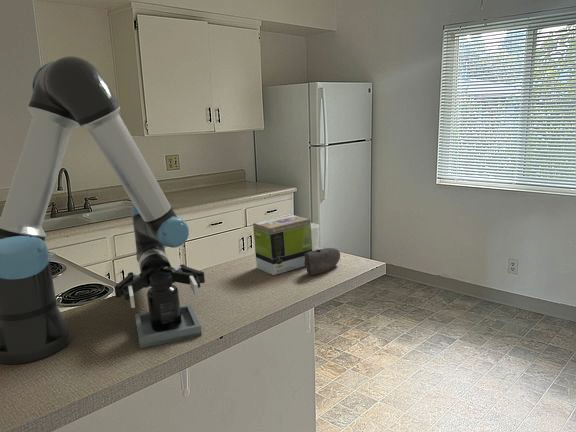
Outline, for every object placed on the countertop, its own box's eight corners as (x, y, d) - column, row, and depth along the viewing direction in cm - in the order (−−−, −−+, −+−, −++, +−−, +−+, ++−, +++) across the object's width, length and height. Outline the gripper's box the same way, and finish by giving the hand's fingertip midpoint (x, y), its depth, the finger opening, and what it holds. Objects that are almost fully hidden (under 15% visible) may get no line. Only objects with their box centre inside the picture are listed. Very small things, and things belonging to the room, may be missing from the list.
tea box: (294, 257, 155) (292, 213, 151) (313, 265, 146) (312, 218, 143) (255, 267, 146) (252, 221, 143) (272, 276, 138) (270, 227, 135)
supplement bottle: (185, 319, 110) (180, 270, 108) (176, 333, 104) (170, 281, 101) (157, 319, 111) (151, 271, 108) (146, 333, 104) (139, 282, 102)
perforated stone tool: (334, 262, 148) (333, 241, 146) (346, 266, 144) (346, 244, 143) (298, 275, 138) (298, 252, 137) (311, 279, 135) (310, 256, 133)
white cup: (307, 260, 151) (305, 230, 149) (291, 255, 157) (290, 226, 155) (324, 254, 156) (324, 225, 154) (308, 249, 162) (307, 221, 160)
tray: (140, 348, 99) (139, 338, 99) (136, 323, 111) (135, 314, 111) (201, 335, 104) (200, 325, 103) (191, 313, 116) (190, 304, 115)
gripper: (204, 273, 127) (222, 301, 108) (105, 289, 119) (106, 323, 99) (202, 246, 125) (220, 270, 106) (101, 261, 117) (101, 290, 97)
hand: (165, 296), depth 102 cm, fingers open, 13 cm apart
